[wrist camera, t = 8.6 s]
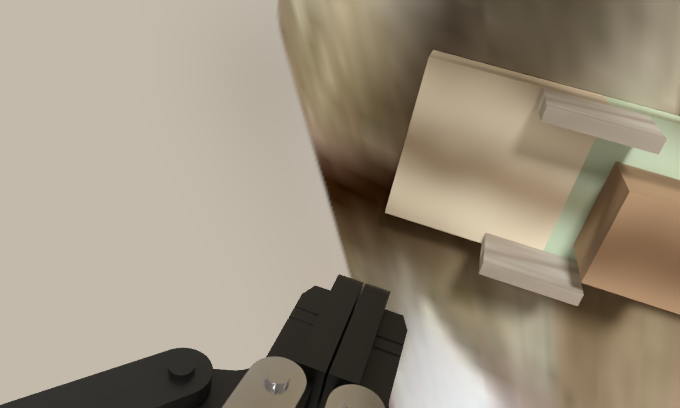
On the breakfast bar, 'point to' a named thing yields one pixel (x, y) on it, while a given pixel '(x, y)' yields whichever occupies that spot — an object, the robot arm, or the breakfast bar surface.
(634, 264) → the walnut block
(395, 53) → the breakfast bar surface
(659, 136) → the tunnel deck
